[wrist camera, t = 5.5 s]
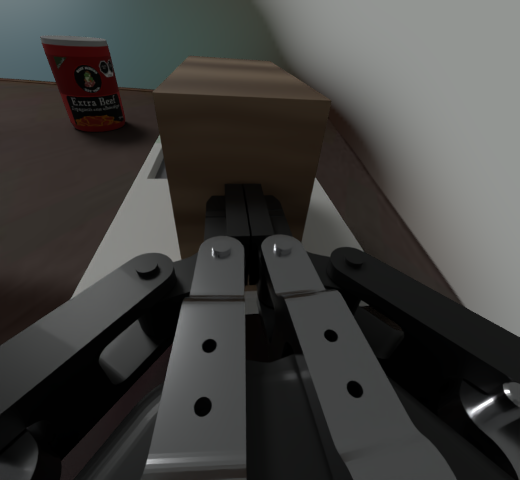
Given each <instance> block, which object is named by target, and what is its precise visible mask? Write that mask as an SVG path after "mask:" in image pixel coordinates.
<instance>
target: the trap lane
mask: <svg viewBox="0 0 520 480" xmlns="http://www.w3.org/2000/svg"><path fill="white" fill-rule="evenodd" d="M301 243H302V245H303V246H304V248H305V250H306V251H308V252H310V253H314V254H318V255H323V256H328V257H330V256H331V253H332V252H333V251H334V250H335V249H337V248H340V247H352V248H356V249H359V250H361V251H363V250H362V248H361V246H360V245H359V243H358V242H357V240H356V239H355V237H354V236H353V234H352V233H351V231H350V230H349V228H348V227H347V225H346V224H345V222H344V220H343V219H342V217H341V216H340V214H339V213H338V211H337V210H336V208H335V207H334V205H333V204H332V202H331V201H330V199H329V197H328V196H327V194H326V193H325V191H324V190H323V188H322V187H321V185H320V184H319V182H318V181H317V179H316V178H315V181H314V185H313V190H312V195H311V200H310V204H309V209H308V214H307V218H306V223H305V228H304V233H303V237H302V242H301ZM363 252H364V251H363ZM146 253H161V254H164V255H167V256H168V257H169V258H170V259H171V260H172V261H173V262H175V261H179V260H181V255H180V250H179V244H178V238H177V232H176V226H175V220H174V215H173V209H172V203H171V197H170V191H169V186H168V180H167V174H166V168H165V162H164V157H163V151H162V145H161V139H160V135H159V137H158V139H157V141H156V142H155V144H154V146H153V148H152V150H151V152H150V154H149V155H148V157H147V159H146V161H145V163H144V165H143V166H142V168H141V170H140V172H139V174H138V176H137V178H136V179H135V181H134V183H133V185H132V187H131V189H130V191H129V192H128V194H127V196H126V198H125V200H124V202H123V203H122V205H121V207H120V209H119V211H118V213H117V215H116V216H115V218H114V220H113V222H112V224H111V226H110V228H109V229H108V231H107V233H106V235H105V237H104V239H103V240H102V242H101V244H100V246H99V248H98V250H97V252H96V253H95V255H94V257H93V259H92V261H91V263H90V265H89V266H88V268H87V270H86V272H85V274H84V276H83V277H82V279H81V281H80V283H79V285H78V287H77V289H76V290H75V292H74V294H73V296H72V298H73V297H75V296H76V295H78V294H79V293H81V292H82V291H84V290H85V289H87V288H88V287H90V286H91V285H93V284H94V283H96V282H98V281H99V280H101V279H102V278H104V277H105V276H107V275H108V274H110V273H111V272H113V271H114V270H116V269H117V268H119V267H120V266H122V265H123V264H125V263H126V262H128V261H129V260H131V259H132V258H134V257H136V256H139V255H142V254H146ZM72 298H71V299H72ZM244 298H245V314H259V312H258V307H257V302H256V300H257V291H245V292H244ZM359 306H369V305H368V304H366V303H365V302H363V301H362V300H361V302H360V304H359Z"/></svg>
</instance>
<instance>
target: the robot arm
mask: <svg viewBox="0 0 520 480" xmlns="http://www.w3.org/2000/svg"><path fill="white" fill-rule="evenodd" d="M205 217H206V218H205V231H204V242H203V243H202V244H201V246H200V248H199V251H198V252H197V253H196V254H194V255H193V256H191V257H188V258H186V259H182V260H179V261H175V262H173V261H172V260H171V259H170V258H169V257H168V256H167V255H164V254H161V253H146V254H142V255H139V256H136V257H134V258H132V259H131V260H129V261H128V262H126V263H125V264H123V265H122V266H120V267H119V268H117V269H116V270H114V271H113V272H111V273H110V274H108V275H107V276H105V277H104V278H102V279H101V280H99V281H98V282H96V283H94V284H93V285H91V286H90V287H88V288H87V289H85V290H84V291H82V292H81V293H79V294H78V295H76V296H75V297H73V298H72V299H70V300H69V301H67V302H66V303H64V304H63V305H61V306H60V307H58V308H57V309H55V310H54V311H52V312H51V313H49V314H48V315H46V316H45V317H43V318H42V319H40V320H39V321H37V322H36V323H34V324H33V325H31V326H30V327H28V328H27V329H25V330H24V331H22V332H20V333H19V334H17V335H16V336H14V337H13V338H11V339H10V340H8V341H7V342H5V343H4V344H2V345H1V346H0V480H60V476H61V469H62V466H61V460H62V459H63V458H64V457H65V456H66V455H67V454H68V453H69V452H70V451H71V450H72V449H73V448H74V447H75V446H76V445H77V444H78V443H79V441H80V440H81V439H82V438H83V437H84V436H85V435H86V434H87V433H88V432H89V431H90V430H91V429H92V428H93V427H94V426H95V425H96V423H97V422H98V421H99V420H100V419H101V418H102V417H103V416H104V415H105V414H106V413H107V412H108V411H109V410H110V409H111V408H112V407H113V405H114V404H115V403H116V402H117V401H118V400H119V399H120V398H121V397H122V396H123V395H124V394H125V393H126V392H127V391H128V390H129V389H130V387H131V386H132V385H133V384H134V383H135V382H136V381H137V380H138V379H139V378H140V377H141V376H142V375H143V374H144V373H145V372H146V371H147V369H148V368H149V367H150V366H151V365H152V364H153V363H154V362H155V361H156V360H157V359H158V358H159V357H160V356H161V355H162V354H163V353H164V351H165V350H166V349H167V348H168V347H169V346H170V345H171V344H172V343H173V346H172V351H171V355H170V360H169V364H168V369H167V373H166V378H165V382H163V383H162V384H160V385H159V386H157V387H156V388H154V389H153V390H152V391H151V392H149V393H148V394H147V395H146V396H145V397H144V398H143V399H142V400H141V401H140V402H139V403H138V404H137V405H136V406H135V407H134V408H133V409H132V410H131V411H130V413H129V414H128V415H127V416H126V417H125V419H124V420H123V421H122V422H121V423H120V425H119V426H118V427H117V428H116V429H115V431H114V432H113V433H112V434H111V435H110V437H109V438H108V439H107V440H106V441H105V443H104V444H103V445H102V446H101V447H100V449H99V450H98V451H97V452H96V453H95V454H94V456H93V457H92V458H91V459H90V460H89V462H88V463H87V464H86V465H85V466H84V468H83V469H82V470H81V471H80V472H79V474H78V475H77V476H76V477H75V478H74V480H520V337H518V336H516V335H514V334H513V333H511V332H509V331H507V330H505V329H504V328H502V327H500V326H498V325H496V324H494V323H492V322H491V321H489V320H487V319H485V318H483V317H482V316H480V315H478V314H476V313H474V312H472V311H470V310H469V309H467V308H465V307H463V306H462V305H460V304H458V303H456V302H454V301H453V300H451V299H449V298H447V297H445V296H443V295H442V294H440V293H438V292H436V291H434V290H432V289H431V288H429V287H427V286H425V285H423V284H422V283H420V282H418V281H416V280H414V279H412V278H411V277H409V276H407V275H405V274H403V273H402V272H400V271H398V270H396V269H394V268H392V267H391V266H389V265H387V264H385V263H383V262H381V261H380V260H378V259H376V258H374V257H372V256H371V255H369V254H367V253H365V252H363V251H361V250H359V249H356V248H352V247H340V248H337V249H335V250H334V251H333V252H332V253H331V256H330V257H328V256H323V255H318V254H314V253H310V252H308V251H306V250H305V248H304V246H303V245H302V243H301V242H300V241H299V240H297V239H296V238H294V237H293V236H292V234H291V231H290V228H289V225H288V222H287V220H286V217H285V214H284V211H283V208H282V206H281V203H280V201H279V200H278V199H277V198H275V197H274V196H273V195H264V194H263V190H262V187H261V184H243V187H242V184H225V196H211V197H210V199H209V200H208V201H207V202H206V216H205ZM248 279H249V285H256V287H257V300H256V302H257V307H258V312H259V316H260V320H261V325H262V329H263V333H264V337H265V342H266V346H267V351H268V363H264V362H258V361H252V360H246V359H245V298H244V289H245V285H248ZM361 300H362V301H363V302H365V303H366V304H368V305H369V306H371V307H372V308H374V309H375V310H377V311H379V312H380V313H382V314H383V315H385V316H386V317H388V318H389V319H391V320H392V321H394V322H395V323H397V324H398V325H399V326H400V327H401V328H402V330H403V331H398V330H395V329H393V328H391V327H390V326H389V325H387V324H386V323H384V322H383V321H381V320H380V319H378V318H377V317H375V316H374V315H372V314H371V313H369V312H368V311H366V310H365V309H363V308H362V307H360V306H359V304H360V302H361Z"/></svg>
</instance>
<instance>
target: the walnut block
mask: <svg viewBox="0 0 520 480" xmlns="http://www.w3.org/2000/svg"><path fill="white" fill-rule="evenodd" d="M152 93H153V98H154V104H155V110H156V116H157V122H158V127H159V133H160V139H161V145H162V151H163V157H164V162H165V168H166V174H167V180H168V186H169V191H170V197H171V203H172V209H173V215H174V220H175V226H176V232H177V238H178V244H179V250H180V255H181V260H182V259H186V258H188V257H191V256H193V255H194V254H196V253H197V252H198V251H199V248H200V246H201V244H202V243H203V242H204V231H205V218H206V217H205V216H206V202H207V201H208V200H209V199H210V197H211V196H225V184H242V187H243V184H261V187H262V190H263V194H264V195H273V196H274V197H275V198H277V199H278V200H279V201H280V203H281V206H282V208H283V211H284V214H285V217H286V220H287V222H288V225H289V228H290V231H291V234H292V236H293V237H294V238H296V239H297V240H299V241H300V242H302V237H303V233H304V228H305V223H306V218H307V214H308V209H309V204H310V200H311V195H312V190H313V185H314V181H315V176H316V171H317V166H318V162H319V157H320V152H321V147H322V143H323V138H324V133H325V129H326V124H327V119H328V114H329V110H330V105H331V100H330V99H328V98H326V97H325V96H323V95H322V94H320V93H319V92H317V91H316V90H314V89H312V88H311V87H309V86H308V85H306V84H305V83H303V82H302V81H300V80H298V79H297V78H295V77H294V76H292V75H291V74H289V73H288V72H286V71H284V70H283V69H281V68H280V67H278V66H277V65H275V64H273V63H272V62H270V61H260V60H245V59H244V60H243V59H229V58H215V57H200V56H189V57H188V58H187V59H185V60H184V61H183V62H182V64H181V65H179V66H178V67H177V68H176V70H175V71H173V72H172V74H170V76H169V77H167V78H166V80H164V81H163V83H161V84H160V85H159V86H158V87H157V88H156V89H155V90H154V91H153V92H152ZM245 291H257V287H256V285H249V279H248V285H245V289H244V292H245Z"/></svg>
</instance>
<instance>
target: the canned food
mask: <svg viewBox="0 0 520 480" xmlns="http://www.w3.org/2000/svg"><path fill="white" fill-rule="evenodd" d="M40 38H41V41H42V45H43V48H44V51H45V54H46V56H47V59H48V62H49V65H50V67H51V70H52V73H53V75H54V78H55V81H56V83H57V86H58V89H59V91H60V94H61V97H62V99H63V102H64V105H65V107H66V110H67V113H68V116H69V118H70V121H71V123H72V124H73V126H74V127H75V128H76V129H78V130H81V131H87V132H103V131H111V130H115V129H118V128H121V127H122V126H124V124H125V115H124V111H123V106H122V102H121V98H120V94H119V90H118V85H117V81H116V77H115V73H114V69H113V64H112V60H111V56H110V52H109V49H108V45H107V42H106V40H105V39H100V38H89V37H75V36H41V37H40Z"/></svg>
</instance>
